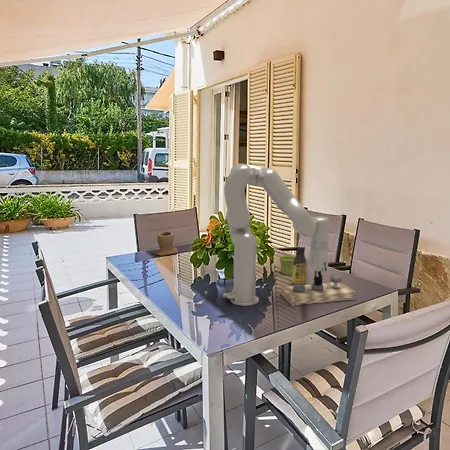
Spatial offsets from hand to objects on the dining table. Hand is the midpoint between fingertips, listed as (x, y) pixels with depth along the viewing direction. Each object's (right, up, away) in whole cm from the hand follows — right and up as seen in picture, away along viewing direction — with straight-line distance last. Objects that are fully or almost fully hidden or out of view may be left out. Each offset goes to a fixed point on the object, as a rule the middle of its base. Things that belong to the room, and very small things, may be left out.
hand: (318, 284), depth 182 cm
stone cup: (-79, +8, +79) cm, 112 cm away
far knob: (+9, -3, +3) cm, 9 cm away
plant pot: (-8, 0, +38) cm, 39 cm away
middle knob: (0, -6, +1) cm, 6 cm away
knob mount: (0, -6, +1) cm, 6 cm away
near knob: (-9, -7, -1) cm, 11 cm away
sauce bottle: (-5, -3, +18) cm, 19 cm away
